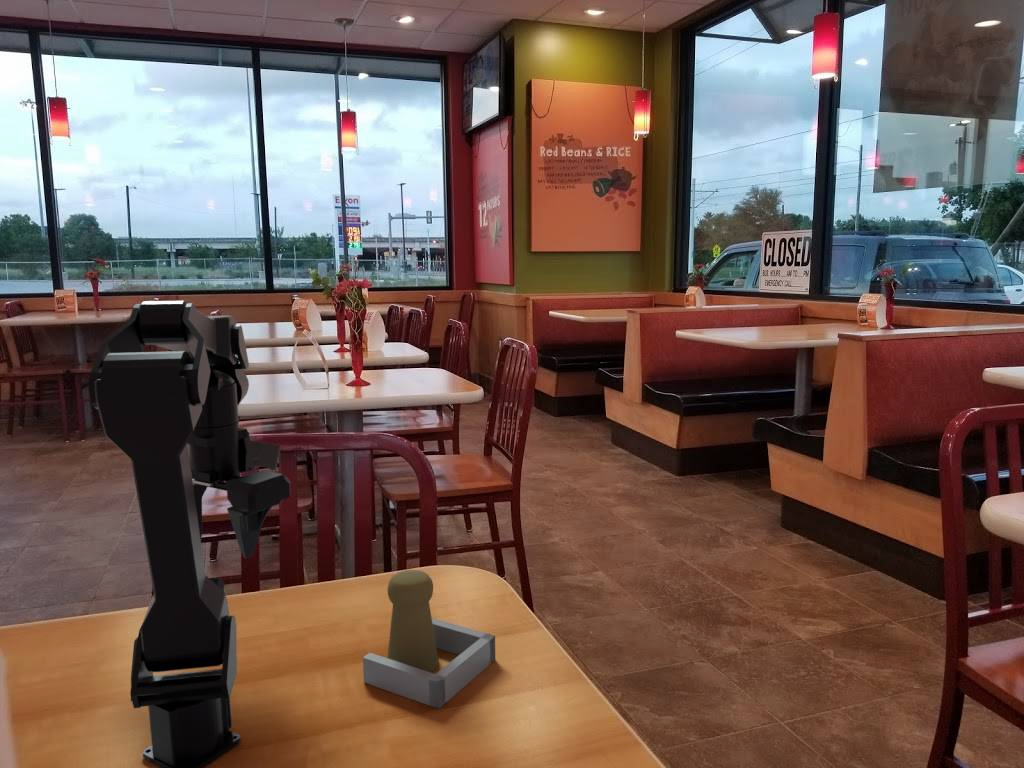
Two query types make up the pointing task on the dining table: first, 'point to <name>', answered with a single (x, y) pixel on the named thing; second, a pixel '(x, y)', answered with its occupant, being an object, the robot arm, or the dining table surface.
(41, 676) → the dining table surface
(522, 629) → the dining table surface
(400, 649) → the olive pawn
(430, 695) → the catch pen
